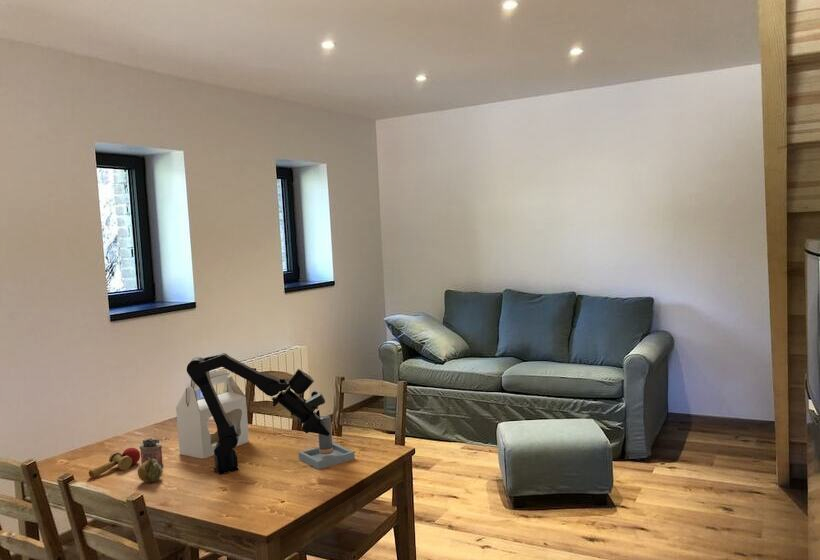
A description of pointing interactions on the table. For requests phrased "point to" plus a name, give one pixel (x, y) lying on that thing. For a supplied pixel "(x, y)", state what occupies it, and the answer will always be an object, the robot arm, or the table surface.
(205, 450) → the gable box
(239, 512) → the table surface
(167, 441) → the table surface
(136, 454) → the kendama
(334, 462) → the tray
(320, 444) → the grey rounded peg
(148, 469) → the olive green lumpy ball
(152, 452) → the lighter
